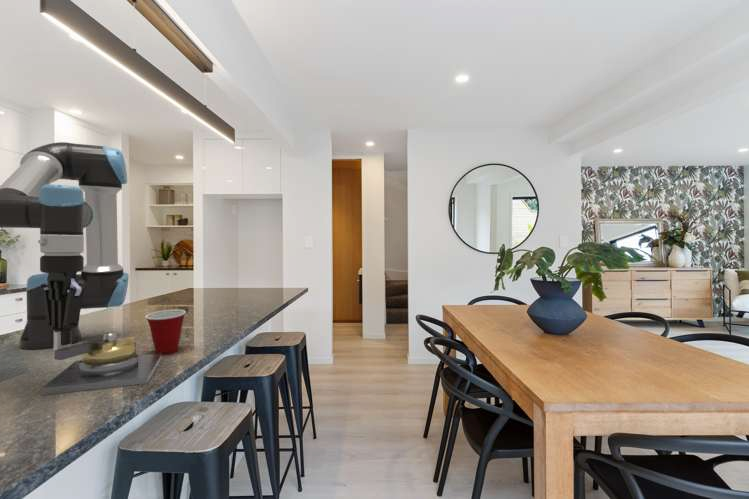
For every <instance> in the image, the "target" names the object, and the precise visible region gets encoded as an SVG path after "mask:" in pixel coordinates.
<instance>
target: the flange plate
mask: <svg viewBox="0 0 749 499" xmlns="http://www.w3.org/2000/svg"><path fill="white" fill-rule="evenodd" d="M162 359H163V354H162V353H160V354H156V353H152V354H151V353H150V354H141V355H140V354H139V353H137V352H136V355H135V356H134V357H132V358H130V359H127V360H123V361H119V362H114V363H108V364H85V363H83V362H82V359H80V360H76V361H74V362H73V363H72V364H70V365H69V366H68V367H67V368H65V369H64V370H63V371H61V372H60V373H59V374H58V375H56V376H55V377H53V379H51V380H50V381H49V382H47V383H46V384H45V385H43V387H41V388H40V390H41V392H40V395H41V396H46V395H55V394H64V393H74V392H83V391H90V390H92V391H93V390H100V389H107V388H108V389H110V388H117V387H118V388H119V387H128V386H129V387H130V386H136V385H137V386H138V385H145V384H149V382H150V381H149V380H151V379H152V377H153V375H154V374H155V371H156V370H157V368H158V367H159V364H160V363H161V361H162Z"/></svg>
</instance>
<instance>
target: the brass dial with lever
mask: <svg viewBox="0 0 749 499" xmlns="http://www.w3.org/2000/svg"><path fill="white" fill-rule="evenodd" d="M117 335H118V334H117V332H114V331H113V332H112V331H111V332H106V333H103V339H101V338H98V339H95V340H87V341H85V340H84V342H82V343H79V344H74V345H71V346H70V347H66V348H62V349H58V350H54V349H53V360H54V359H56V360H55V361H57V360H58V361H63V360H66V359H67V360H68V359H71V358H75V357H78V356H81V360H82V362H83V363H85V364H108V363H114V362H119V361H123V360H127V359H130V358H132V357H134V356H135V355H136V353H137V341H136V337H135V336H127V337H126V338H125V339H117Z"/></svg>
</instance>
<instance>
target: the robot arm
mask: <svg viewBox="0 0 749 499" xmlns="http://www.w3.org/2000/svg"><path fill="white" fill-rule="evenodd" d="M19 164H20V166H19V167H18V168H16V169H15V171H13V173H11V175H9V177H8V178H7V179H6V180H5V181H4V182H3V183H1V185H0V228H1V229H2V228H6V229H7V228H8V229H11V228H13V229H16V228H19V229H23V228H25V229H30V228H31V229H39V236H40V239H38V241H37V242H38V244H40V245H39V248H40V249H39V250H40V253H41V254H43V255H41V256H40V257H39V271H40V272H41V273H38V274H32V275H31V276H29V277H28V279H27V281H26V289H25V291H26V323H25V326H24V329H23V331H22V332H21V336H20V338H19V341H18V342H19V343H18V344H19V348H20V349H23V350H24V349H25V350H39V349H50V348H53V351H54V350H58V349H62V348H66V347H70V346H72V344H75V343H78V342H80V341H81V340H82V333H81V332H82V331H81V330H80V327H79V323H80V316H81V310H87V309H89V310H90V309H101V308H103V309H104V308H105V309H108V308H114V307H115V308H117V307H121V306H122V305H123V304H124V303H125V301H126V297H127V292H128V286H129V273H128V272H124V267H123V266H122V265H121V264H119V257H118V256H119V255H118V253H119V250H118V249H119V248H118V247H119V246H118V206H117V205H118V204H117V203H118V198H117V197H118V196H117V195H118V193H119V192H120V191H122V190H123V185H126V184H127V183H128V175H127V167H126V162H125V158H124V155H123V152H122V151H121V150H120V149H119V148H115V147H110V146H105V145H104V146H103V145H92V144H84V143H83V144H81V143H72V142H66V141H65V142H63V141H61V142H52V143H48V144H44V145H41V146H37V147H35V148H34V149H32V150H30V151H28V152H26V153H25V154H24V155H23V156H22V157H21V159H20V161H19ZM59 180H69V181H77V182H78V186H74V185H67V184H52V183H55V182H57V181H59ZM84 229H85V237H84ZM84 238H85V240H84ZM84 242H85V243H84ZM84 244H85V247H86V250H85V249H84V248H85V247H84ZM84 250H85V251H86V253H85V254H86V255H85V256H86V264H85V265H84V260H85V259H84V256H83V255H82V254H83V253H84V252H85V251H84ZM78 273H80V274H78ZM53 361H57V362H58V361H59V360H56V359H54V358H53Z"/></svg>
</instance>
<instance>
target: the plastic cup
mask: <svg viewBox="0 0 749 499" xmlns="http://www.w3.org/2000/svg"><path fill="white" fill-rule="evenodd" d="M186 312H187V311H186V310H184V309H176V308H175V309H164V310H163V309H162V310H157V311H154V312H151V313H148V314H146V315H145V316H144V317H145V319H146V320H147V322H148V325H149V327H150V328H149V329H150V333H151V338H152V343H153V348H154V351H155V354H160V353H162V355H168V354H173V353H176V352H177V351H178V349H179V345H180V344H179V342H180V340H181V334H182V329H183V328H182V327H183V322H184V317H185V315H186V314H187V313H186Z"/></svg>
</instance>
